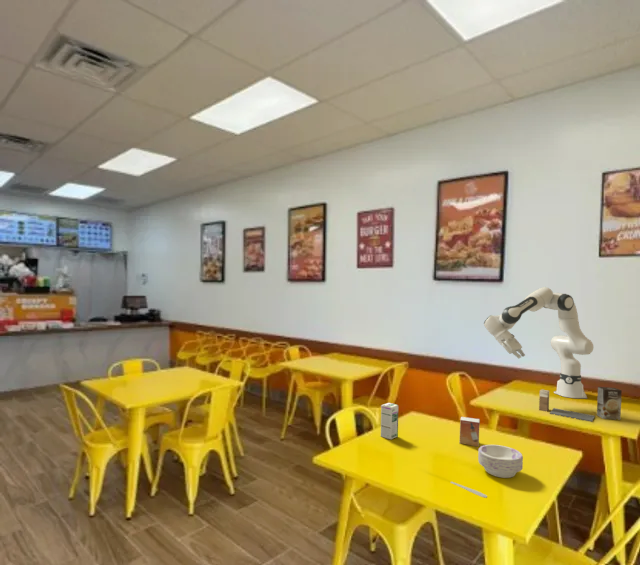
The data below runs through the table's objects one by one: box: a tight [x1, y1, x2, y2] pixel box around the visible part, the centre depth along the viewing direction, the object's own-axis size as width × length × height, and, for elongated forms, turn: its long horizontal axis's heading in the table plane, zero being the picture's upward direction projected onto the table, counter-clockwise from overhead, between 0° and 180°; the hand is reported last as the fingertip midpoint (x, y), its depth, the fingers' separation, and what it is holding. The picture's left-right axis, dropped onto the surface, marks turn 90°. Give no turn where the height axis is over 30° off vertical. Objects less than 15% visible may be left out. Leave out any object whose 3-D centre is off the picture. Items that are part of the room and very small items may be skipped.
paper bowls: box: [477, 444, 524, 479], centre depth 156 cm, size 15×15×8 cm
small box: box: [459, 416, 481, 447], centre depth 185 cm, size 8×6×10 cm
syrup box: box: [380, 402, 399, 440], centre depth 190 cm, size 6×6×14 cm
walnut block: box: [538, 389, 550, 412], centre depth 241 cm, size 5×4×11 cm
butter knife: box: [450, 481, 488, 499], centre depth 147 cm, size 1×27×3 cm
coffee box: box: [596, 386, 622, 421], centre depth 230 cm, size 9×6×16 cm
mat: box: [549, 407, 596, 423], centre depth 232 cm, size 12×20×1 cm, turn 51°
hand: (522, 356), depth 249 cm, fingers open, 8 cm apart
